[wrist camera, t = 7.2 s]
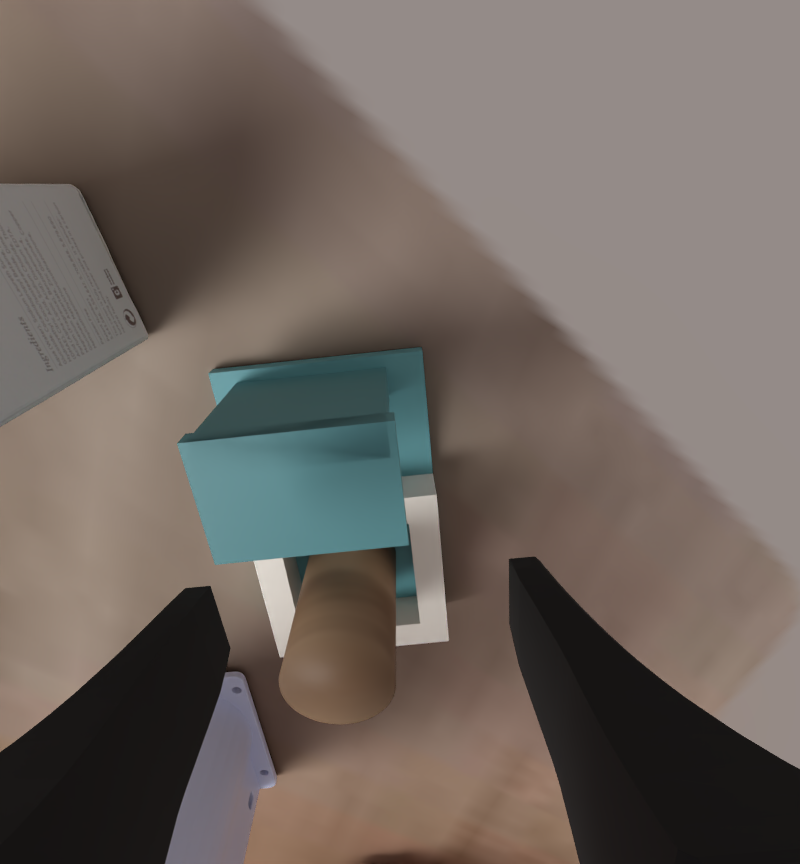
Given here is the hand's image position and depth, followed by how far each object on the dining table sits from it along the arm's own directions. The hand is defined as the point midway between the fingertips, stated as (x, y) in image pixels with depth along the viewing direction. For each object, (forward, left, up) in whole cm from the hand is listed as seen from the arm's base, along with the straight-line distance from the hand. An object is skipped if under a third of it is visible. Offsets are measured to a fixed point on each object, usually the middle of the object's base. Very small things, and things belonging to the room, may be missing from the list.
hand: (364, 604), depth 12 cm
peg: (-6, +2, -10) cm, 12 cm away
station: (-3, +2, -11) cm, 11 cm away
